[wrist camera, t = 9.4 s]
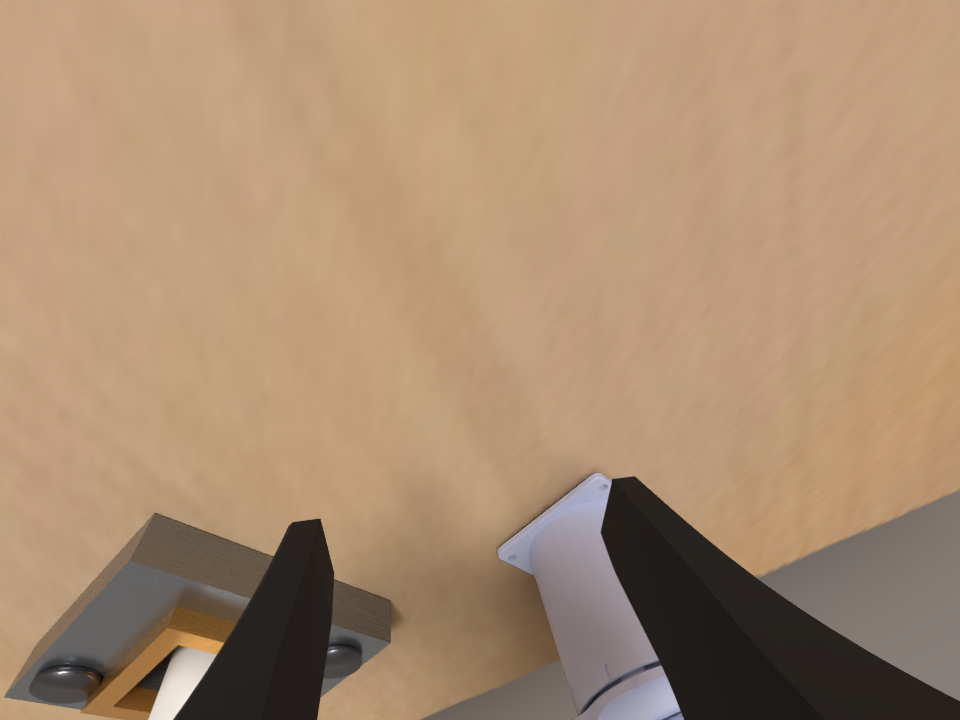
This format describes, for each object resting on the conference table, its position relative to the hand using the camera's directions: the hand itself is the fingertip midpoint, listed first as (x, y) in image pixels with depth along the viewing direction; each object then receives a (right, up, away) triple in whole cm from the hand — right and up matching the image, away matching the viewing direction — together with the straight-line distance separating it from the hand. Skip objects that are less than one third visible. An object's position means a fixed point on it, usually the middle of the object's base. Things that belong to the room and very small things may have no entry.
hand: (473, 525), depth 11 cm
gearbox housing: (-14, -11, +15) cm, 23 cm away
